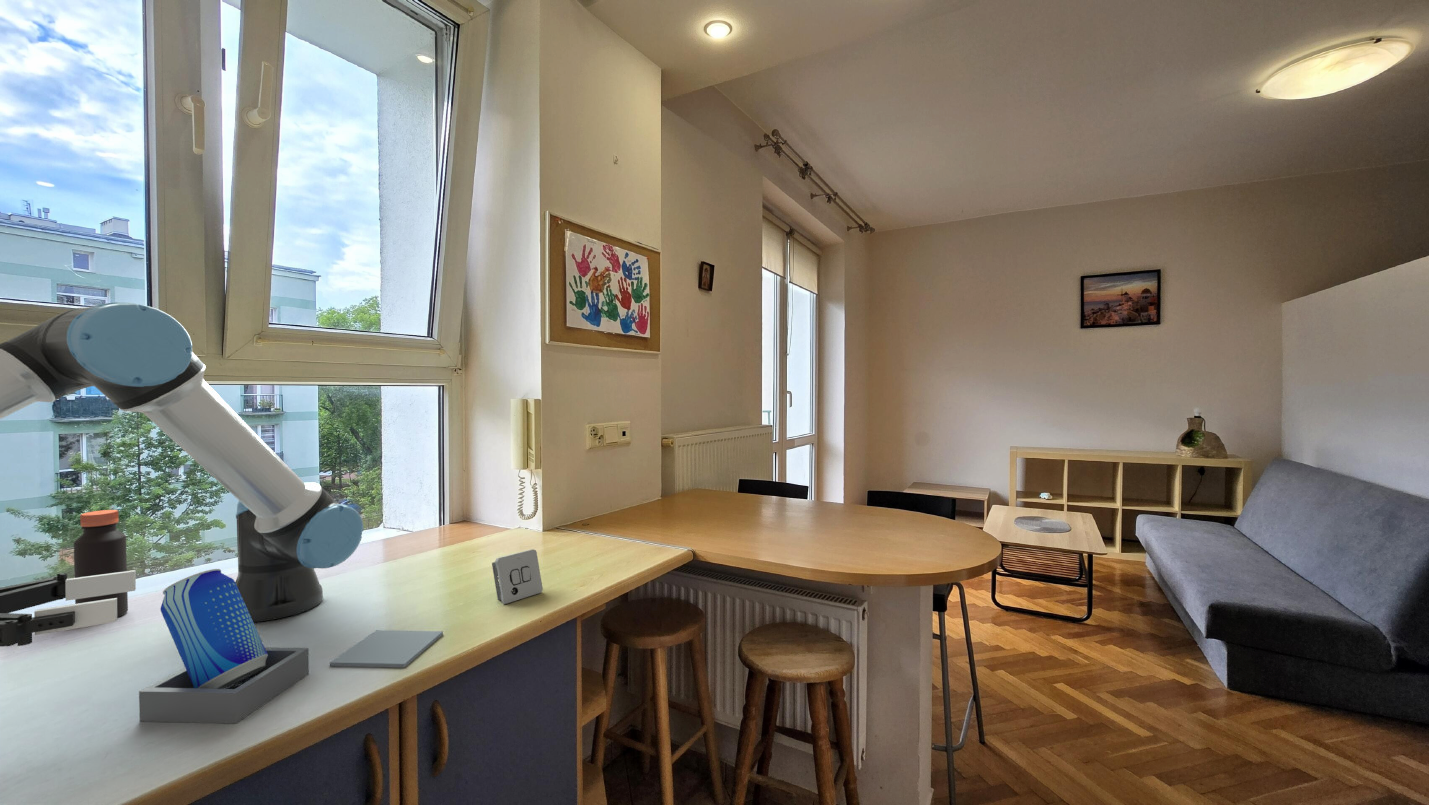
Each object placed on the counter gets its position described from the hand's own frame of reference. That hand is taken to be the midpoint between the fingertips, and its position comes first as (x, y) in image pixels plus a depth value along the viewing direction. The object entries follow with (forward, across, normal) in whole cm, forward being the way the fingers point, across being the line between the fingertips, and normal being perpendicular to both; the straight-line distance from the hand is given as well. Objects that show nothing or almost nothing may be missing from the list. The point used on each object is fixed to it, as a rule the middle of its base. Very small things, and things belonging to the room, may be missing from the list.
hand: (127, 593), depth 75 cm
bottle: (-10, -51, -17) cm, 55 cm away
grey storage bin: (+10, 0, -17) cm, 20 cm away
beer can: (+11, 0, -15) cm, 19 cm away
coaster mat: (+31, -3, -16) cm, 35 cm away
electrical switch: (+56, -14, -16) cm, 60 cm away
